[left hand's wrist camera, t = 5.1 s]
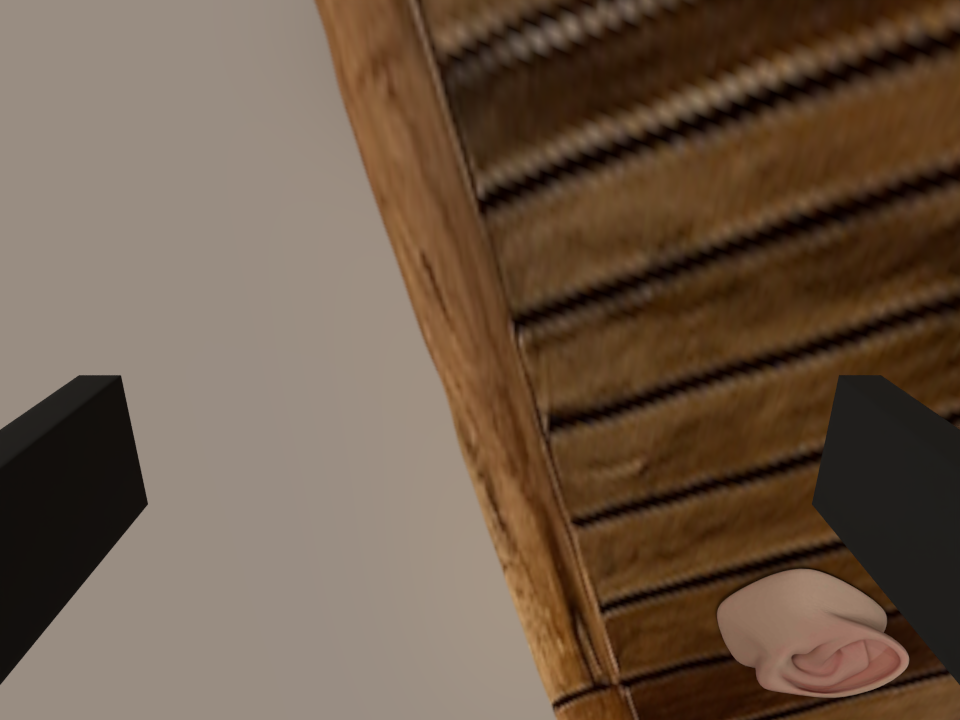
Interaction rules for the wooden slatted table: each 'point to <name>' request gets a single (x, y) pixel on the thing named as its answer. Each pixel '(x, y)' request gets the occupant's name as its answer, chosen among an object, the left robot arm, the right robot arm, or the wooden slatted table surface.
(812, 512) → the wooden slatted table surface
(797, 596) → the anatomical model
